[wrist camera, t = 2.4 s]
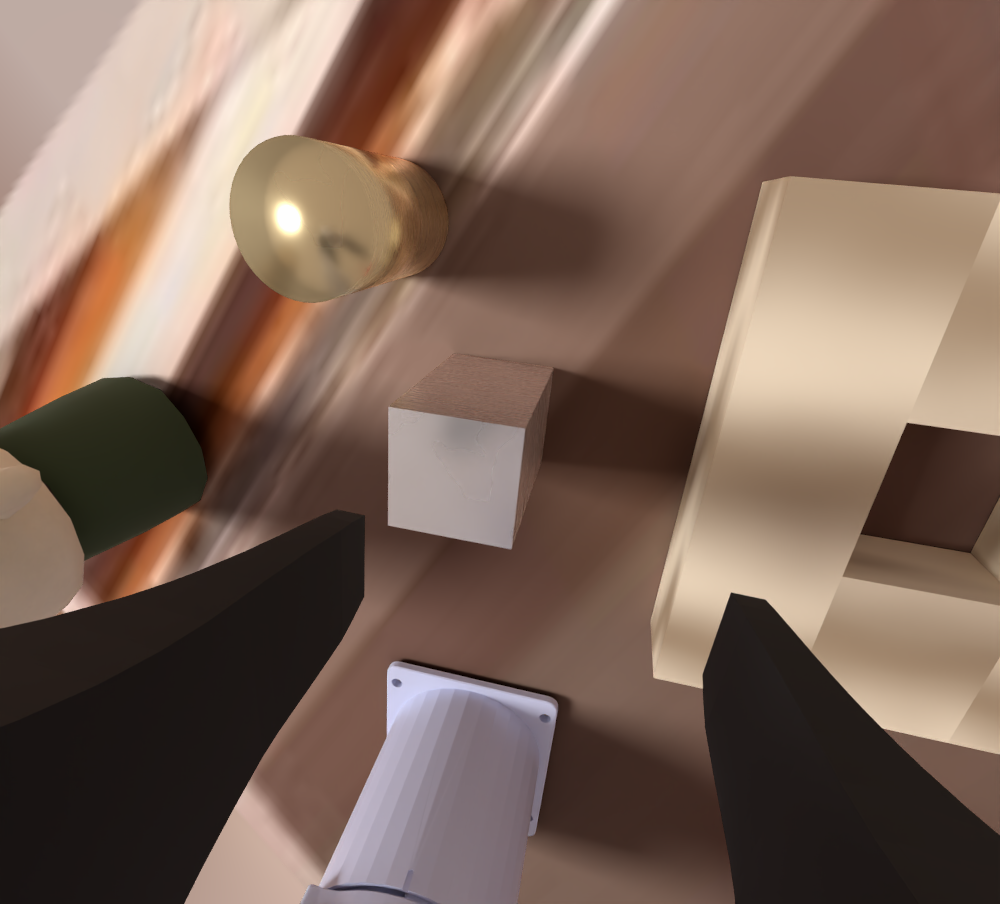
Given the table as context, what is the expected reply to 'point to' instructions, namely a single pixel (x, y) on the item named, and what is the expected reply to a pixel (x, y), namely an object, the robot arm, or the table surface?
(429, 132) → the table surface
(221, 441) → the table surface
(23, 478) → the character mug
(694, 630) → the socket plate
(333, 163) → the round bit
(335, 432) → the table surface
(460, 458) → the square bit
